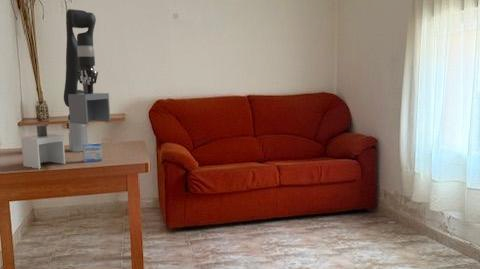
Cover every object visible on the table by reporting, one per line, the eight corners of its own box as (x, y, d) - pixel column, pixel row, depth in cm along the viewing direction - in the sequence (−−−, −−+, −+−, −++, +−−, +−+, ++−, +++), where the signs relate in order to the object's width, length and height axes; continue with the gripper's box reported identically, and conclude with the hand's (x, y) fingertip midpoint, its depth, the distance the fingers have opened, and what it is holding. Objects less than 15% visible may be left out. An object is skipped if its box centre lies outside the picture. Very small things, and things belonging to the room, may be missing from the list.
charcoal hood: (70, 122, 222) (67, 83, 219) (93, 120, 232) (90, 82, 230) (87, 124, 214) (84, 83, 211) (110, 121, 224) (108, 82, 222)
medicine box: (85, 162, 222) (83, 144, 221) (83, 161, 226) (82, 143, 225) (102, 160, 225) (101, 143, 224) (100, 159, 229) (99, 142, 228)
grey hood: (23, 165, 217) (20, 126, 214) (49, 161, 227) (46, 123, 225) (39, 169, 209) (35, 127, 207) (65, 163, 220) (62, 124, 217)
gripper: (70, 56, 220) (72, 92, 222) (88, 55, 212) (90, 93, 214) (83, 56, 226) (86, 92, 228) (102, 55, 218) (104, 92, 220)
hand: (88, 92), depth 221 cm, fingers closed on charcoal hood, 3 cm apart
